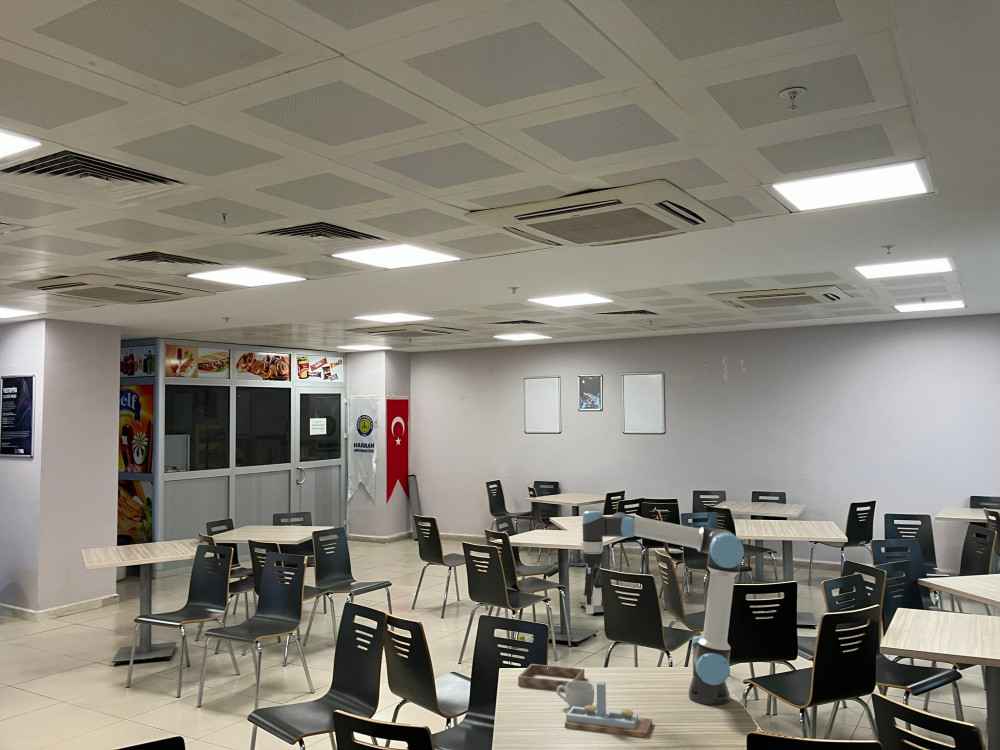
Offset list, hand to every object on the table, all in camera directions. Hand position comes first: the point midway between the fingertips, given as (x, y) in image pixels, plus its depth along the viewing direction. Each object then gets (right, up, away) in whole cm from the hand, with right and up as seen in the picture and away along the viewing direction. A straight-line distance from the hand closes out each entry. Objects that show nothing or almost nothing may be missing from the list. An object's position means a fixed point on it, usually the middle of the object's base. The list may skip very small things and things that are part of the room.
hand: (593, 609), depth 291 cm
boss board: (+2, -33, -23) cm, 41 cm away
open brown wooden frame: (-14, -37, +24) cm, 46 cm away
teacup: (-7, -35, -5) cm, 36 cm away
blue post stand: (+1, -32, -23) cm, 39 cm away
